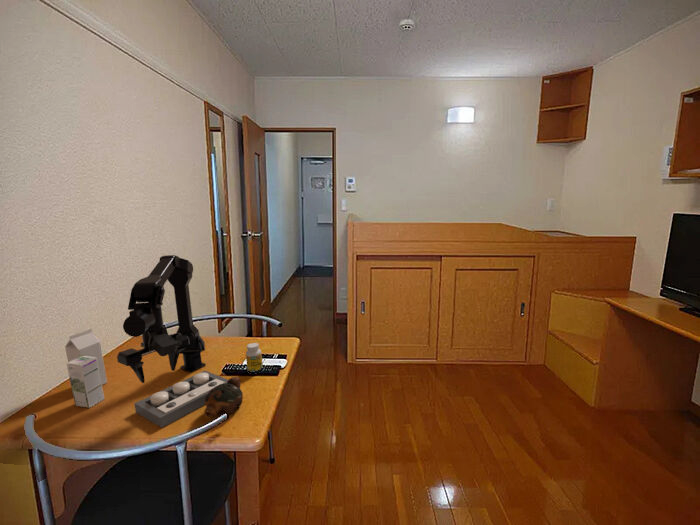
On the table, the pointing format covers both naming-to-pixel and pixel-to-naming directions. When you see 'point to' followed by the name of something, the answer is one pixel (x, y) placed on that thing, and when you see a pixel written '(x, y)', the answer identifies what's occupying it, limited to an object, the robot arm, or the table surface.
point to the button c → (201, 379)
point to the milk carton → (86, 349)
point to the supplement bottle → (253, 357)
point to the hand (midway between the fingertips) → (158, 376)
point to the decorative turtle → (224, 397)
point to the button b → (181, 388)
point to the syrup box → (85, 381)
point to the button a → (159, 398)
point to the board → (178, 402)
